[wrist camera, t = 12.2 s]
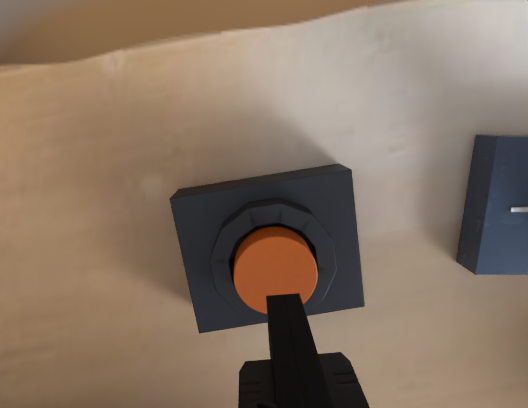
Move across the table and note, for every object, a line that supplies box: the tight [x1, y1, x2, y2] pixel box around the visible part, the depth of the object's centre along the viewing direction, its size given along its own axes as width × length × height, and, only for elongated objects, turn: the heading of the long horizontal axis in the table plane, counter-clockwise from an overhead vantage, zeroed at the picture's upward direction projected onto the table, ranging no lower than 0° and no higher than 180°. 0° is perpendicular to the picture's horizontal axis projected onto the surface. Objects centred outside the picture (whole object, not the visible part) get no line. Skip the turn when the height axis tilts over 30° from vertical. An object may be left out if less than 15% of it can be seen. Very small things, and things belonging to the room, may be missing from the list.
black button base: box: [170, 164, 365, 333], centre depth 26 cm, size 12×10×5 cm
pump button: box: [234, 227, 318, 314], centre depth 23 cm, size 5×5×2 cm
